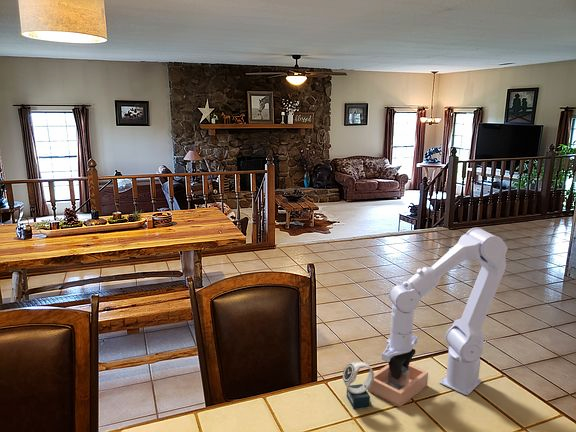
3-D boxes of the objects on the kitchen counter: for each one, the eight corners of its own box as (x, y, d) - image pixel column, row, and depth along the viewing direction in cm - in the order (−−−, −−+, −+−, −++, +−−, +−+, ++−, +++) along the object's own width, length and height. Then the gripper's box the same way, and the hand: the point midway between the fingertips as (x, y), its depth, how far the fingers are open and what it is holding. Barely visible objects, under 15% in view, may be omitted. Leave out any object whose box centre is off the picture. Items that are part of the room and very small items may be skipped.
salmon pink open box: (396, 370, 132) (396, 358, 131) (427, 385, 125) (428, 372, 124) (367, 390, 122) (368, 377, 121) (399, 407, 115) (400, 393, 114)
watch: (339, 397, 119) (340, 359, 117) (368, 393, 121) (369, 356, 119) (346, 410, 114) (347, 371, 112) (376, 406, 116) (378, 368, 113)
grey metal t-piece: (395, 379, 127) (396, 359, 125) (411, 386, 123) (412, 367, 122) (385, 386, 123) (386, 366, 122) (401, 394, 120) (402, 374, 118)
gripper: (403, 316, 127) (400, 359, 130) (373, 333, 117) (370, 379, 120) (425, 324, 122) (422, 369, 125) (396, 343, 112) (393, 391, 116)
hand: (398, 375), depth 123 cm, fingers open, 3 cm apart
